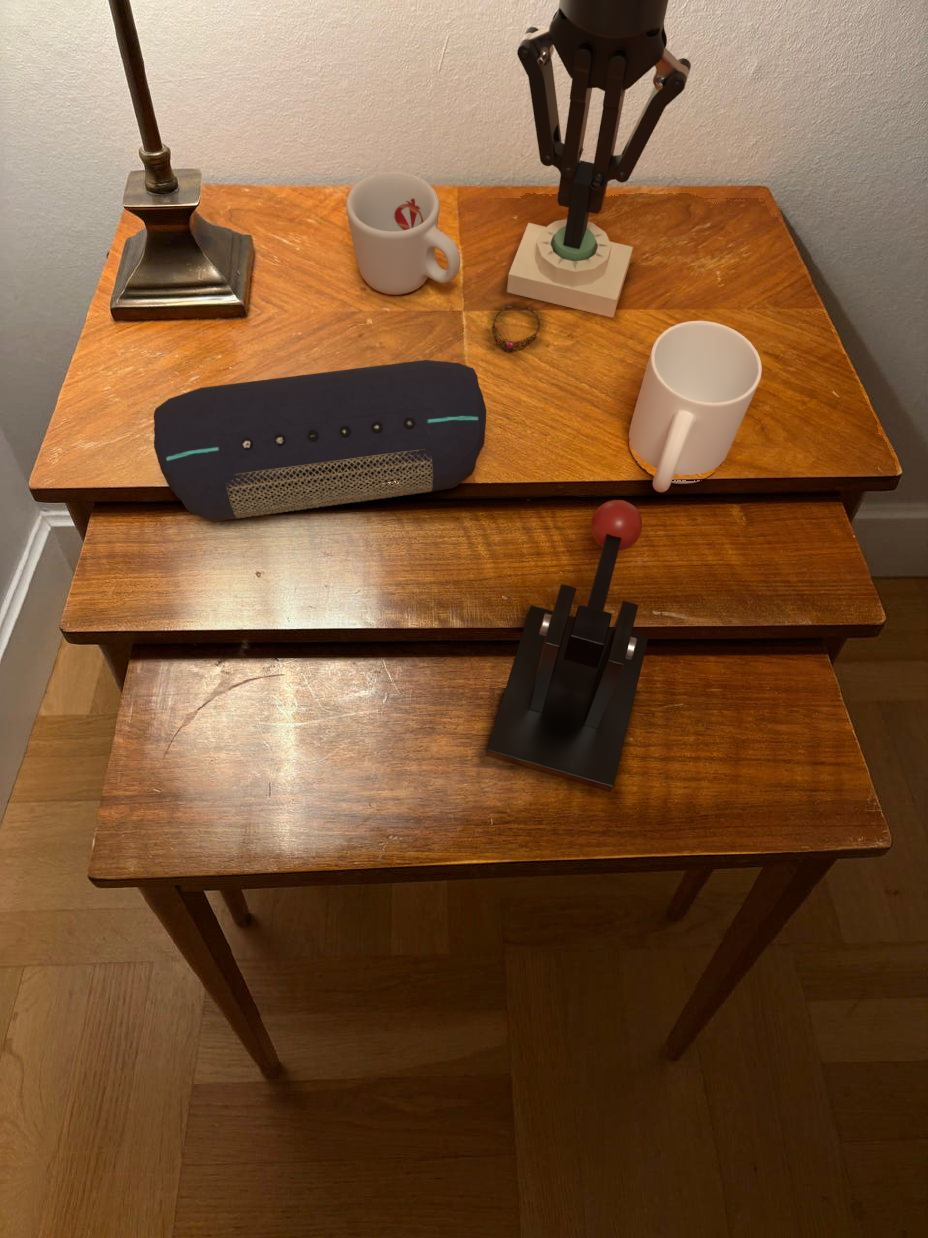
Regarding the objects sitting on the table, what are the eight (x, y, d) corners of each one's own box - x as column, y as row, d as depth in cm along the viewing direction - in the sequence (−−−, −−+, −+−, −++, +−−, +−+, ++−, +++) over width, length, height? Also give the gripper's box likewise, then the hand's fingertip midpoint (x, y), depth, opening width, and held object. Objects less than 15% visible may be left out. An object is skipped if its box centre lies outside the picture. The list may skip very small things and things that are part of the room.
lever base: (529, 612, 74) (545, 526, 64) (645, 644, 73) (681, 562, 63) (485, 756, 69) (495, 688, 58) (610, 792, 68) (643, 730, 57)
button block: (629, 265, 92) (637, 230, 88) (612, 318, 88) (620, 284, 85) (526, 241, 93) (530, 205, 89) (506, 292, 89) (509, 257, 86)
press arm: (591, 521, 72) (601, 484, 69) (639, 534, 72) (651, 497, 69) (551, 662, 63) (560, 626, 60) (605, 678, 62) (618, 641, 60)
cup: (480, 280, 90) (485, 208, 83) (431, 333, 87) (431, 262, 80) (386, 232, 93) (382, 157, 86) (334, 281, 89) (326, 208, 82)
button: (596, 245, 89) (599, 229, 87) (587, 272, 87) (590, 256, 85) (558, 236, 89) (560, 220, 87) (548, 263, 87) (550, 247, 86)
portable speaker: (177, 552, 76) (144, 476, 67) (170, 450, 80) (138, 365, 71) (495, 508, 78) (503, 428, 70) (471, 411, 83) (476, 325, 74)
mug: (696, 537, 78) (731, 457, 69) (598, 501, 79) (620, 419, 70) (736, 427, 83) (774, 340, 74) (644, 396, 84) (670, 306, 75)
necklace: (484, 352, 86) (484, 343, 85) (500, 302, 89) (500, 293, 88) (530, 361, 85) (531, 353, 85) (544, 311, 88) (545, 302, 87)
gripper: (726, -61, 66) (655, 224, 87) (541, -97, 68) (515, 192, 89) (707, 1, 63) (638, 282, 84) (513, -39, 64) (492, 248, 85)
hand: (575, 236), depth 86 cm, fingers closed
